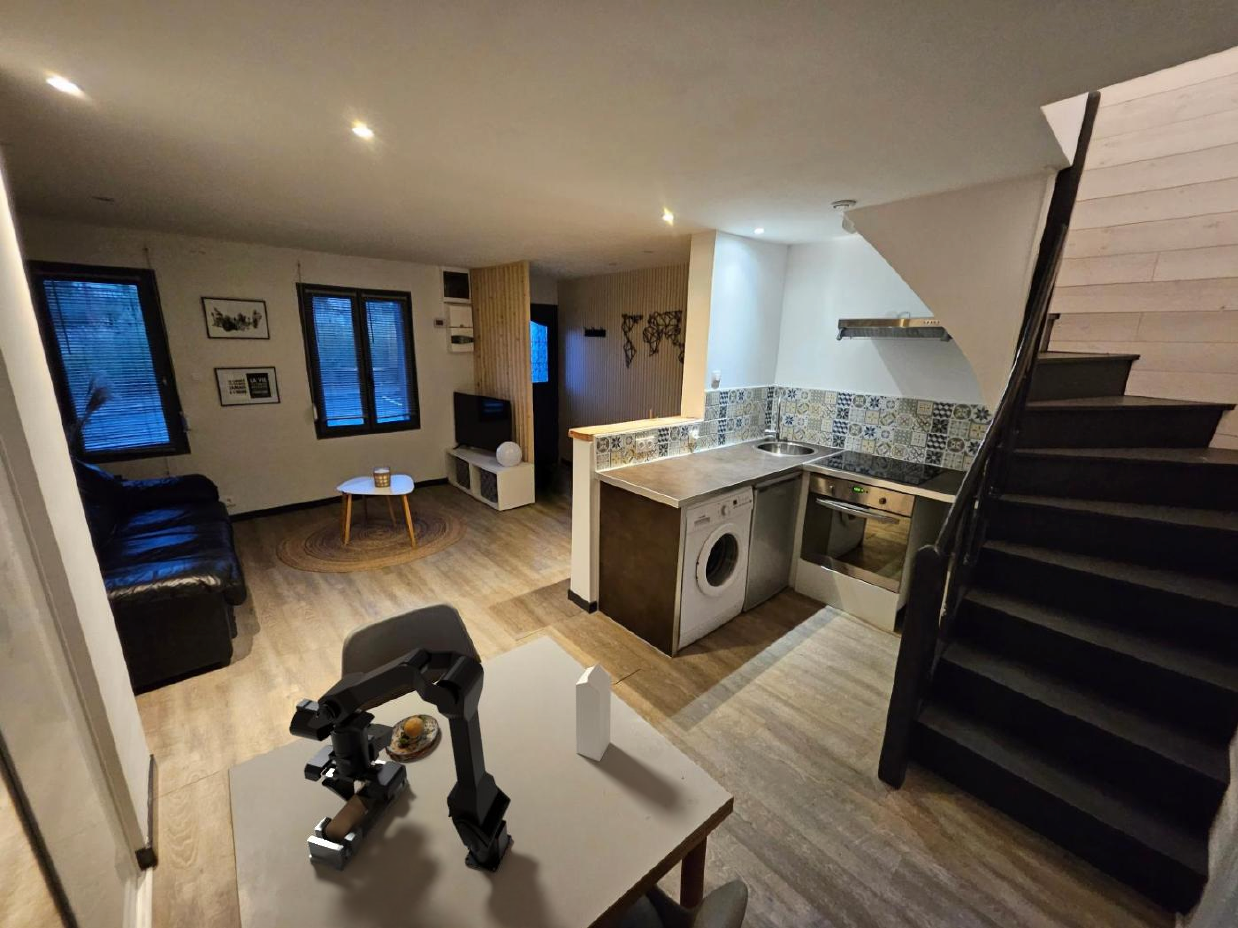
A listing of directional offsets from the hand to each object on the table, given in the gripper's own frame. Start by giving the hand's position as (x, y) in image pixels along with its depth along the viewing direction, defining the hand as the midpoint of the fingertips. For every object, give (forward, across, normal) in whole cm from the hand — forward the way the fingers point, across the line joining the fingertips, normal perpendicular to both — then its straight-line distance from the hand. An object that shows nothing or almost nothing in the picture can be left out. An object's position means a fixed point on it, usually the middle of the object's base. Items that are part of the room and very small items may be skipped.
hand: (361, 804), depth 93 cm
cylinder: (+1, 0, 0) cm, 1 cm away
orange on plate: (+4, +3, -19) cm, 20 cm away
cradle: (+4, 0, 0) cm, 4 cm away
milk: (+4, -39, -28) cm, 48 cm away
